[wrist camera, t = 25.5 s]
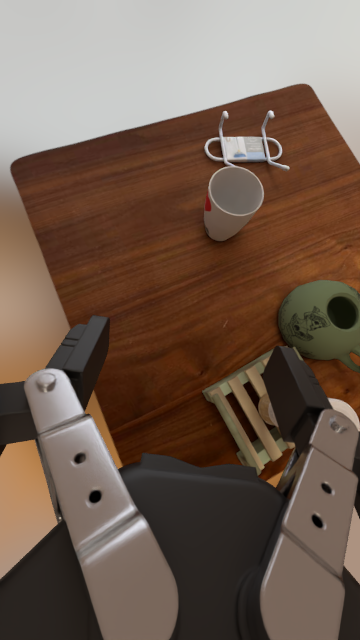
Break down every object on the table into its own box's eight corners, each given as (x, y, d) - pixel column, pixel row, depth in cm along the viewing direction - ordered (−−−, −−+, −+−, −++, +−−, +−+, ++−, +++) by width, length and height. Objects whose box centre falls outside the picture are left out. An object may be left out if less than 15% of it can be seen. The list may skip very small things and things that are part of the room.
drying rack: (240, 463, 40) (257, 480, 33) (201, 391, 41) (210, 394, 35) (313, 414, 42) (342, 420, 36) (273, 348, 44) (294, 343, 38)
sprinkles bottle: (292, 398, 38) (367, 411, 24) (282, 430, 36) (355, 461, 23) (262, 385, 37) (322, 391, 24) (252, 417, 36) (308, 440, 23)
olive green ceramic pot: (258, 308, 45) (283, 293, 37) (316, 276, 48) (352, 254, 39) (310, 392, 43) (349, 396, 35) (368, 354, 46) (417, 349, 37)
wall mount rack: (275, 132, 54) (290, 103, 48) (289, 190, 51) (307, 167, 45) (200, 132, 52) (206, 102, 46) (211, 194, 49) (219, 170, 43)
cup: (206, 201, 48) (220, 157, 39) (247, 219, 49) (271, 180, 39) (190, 237, 47) (200, 201, 37) (231, 256, 47) (253, 224, 37)
